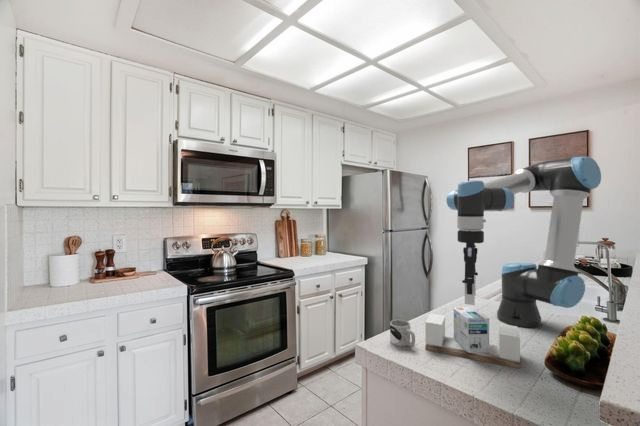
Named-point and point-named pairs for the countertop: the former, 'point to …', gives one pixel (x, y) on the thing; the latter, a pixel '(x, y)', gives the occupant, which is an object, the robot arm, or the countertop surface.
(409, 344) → the mug
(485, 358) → the rail board
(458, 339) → the light bulb box
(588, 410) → the countertop surface
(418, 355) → the countertop surface
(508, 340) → the mounted modules
